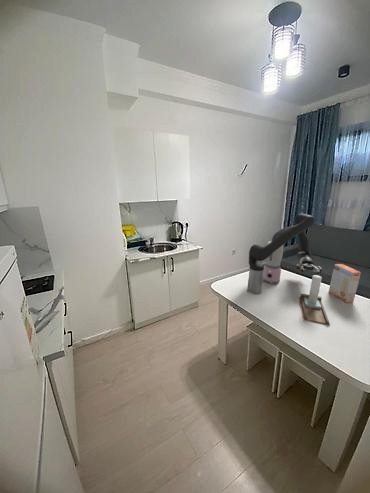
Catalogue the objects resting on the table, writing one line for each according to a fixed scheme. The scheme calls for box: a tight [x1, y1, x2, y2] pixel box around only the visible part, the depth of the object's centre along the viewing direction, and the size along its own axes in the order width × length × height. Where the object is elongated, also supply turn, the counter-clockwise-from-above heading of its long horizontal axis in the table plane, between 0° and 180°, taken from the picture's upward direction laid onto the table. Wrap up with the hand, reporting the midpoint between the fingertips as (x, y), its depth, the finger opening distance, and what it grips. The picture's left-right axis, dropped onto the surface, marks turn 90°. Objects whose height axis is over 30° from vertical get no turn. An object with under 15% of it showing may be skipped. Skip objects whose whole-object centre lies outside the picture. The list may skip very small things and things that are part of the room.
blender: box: [263, 240, 284, 285], centre depth 152 cm, size 16×12×32 cm
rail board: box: [299, 293, 331, 326], centre depth 121 cm, size 12×24×4 cm, turn 157°
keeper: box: [304, 274, 323, 309], centre depth 122 cm, size 8×8×18 cm
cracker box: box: [328, 263, 362, 304], centre depth 131 cm, size 14×6×21 cm, turn 4°
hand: (310, 271), depth 130 cm, fingers open, 8 cm apart
